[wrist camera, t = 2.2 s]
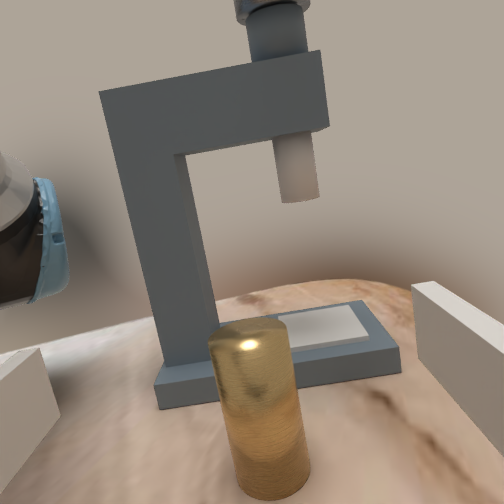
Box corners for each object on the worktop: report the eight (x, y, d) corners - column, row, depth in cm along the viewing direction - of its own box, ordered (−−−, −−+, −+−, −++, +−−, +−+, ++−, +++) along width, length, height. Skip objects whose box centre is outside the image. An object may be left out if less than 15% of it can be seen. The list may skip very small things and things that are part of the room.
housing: (222, 487, 26) (191, 349, 24) (259, 436, 30) (235, 315, 28) (291, 510, 23) (263, 358, 21) (320, 451, 27) (299, 319, 25)
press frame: (159, 409, 36) (62, 28, 29) (182, 348, 48) (117, 66, 41) (401, 372, 35) (361, -31, 28) (364, 319, 47) (329, 26, 40)
